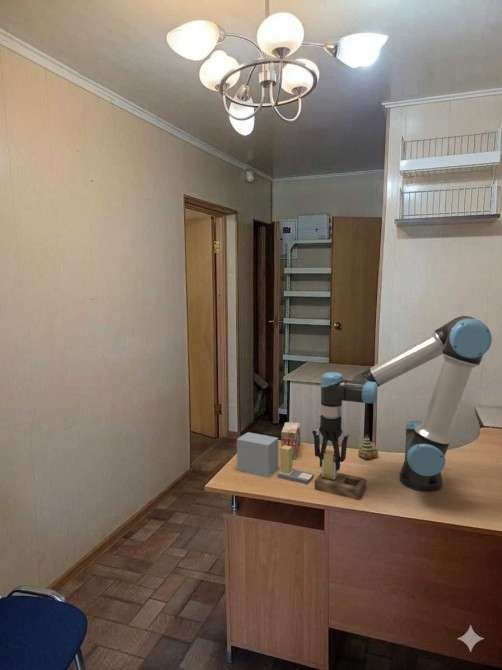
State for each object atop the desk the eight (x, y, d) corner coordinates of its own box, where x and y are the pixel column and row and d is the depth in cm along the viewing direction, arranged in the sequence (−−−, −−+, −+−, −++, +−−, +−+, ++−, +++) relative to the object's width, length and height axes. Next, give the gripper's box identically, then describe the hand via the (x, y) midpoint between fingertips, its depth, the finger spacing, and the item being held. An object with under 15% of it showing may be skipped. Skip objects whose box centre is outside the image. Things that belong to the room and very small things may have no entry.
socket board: (365, 487, 159) (365, 478, 158) (358, 499, 150) (358, 490, 150) (323, 478, 167) (324, 469, 166) (314, 489, 158) (314, 480, 157)
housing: (278, 468, 175) (278, 437, 174) (268, 477, 168) (268, 445, 166) (248, 461, 182) (247, 432, 180) (237, 470, 174) (236, 439, 173)
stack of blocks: (287, 440, 206) (287, 415, 204) (300, 441, 204) (300, 416, 203) (281, 459, 185) (281, 431, 183) (295, 460, 184) (296, 432, 182)
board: (314, 476, 168) (314, 449, 166) (307, 484, 162) (307, 455, 160) (284, 470, 174) (285, 443, 172) (277, 477, 168) (277, 449, 166)
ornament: (369, 452, 191) (370, 430, 189) (380, 457, 186) (380, 435, 184) (356, 456, 187) (356, 434, 185) (367, 461, 181) (367, 438, 180)
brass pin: (335, 477, 161) (336, 451, 159) (332, 481, 158) (333, 455, 156) (326, 475, 162) (327, 449, 161) (323, 479, 159) (323, 453, 158)
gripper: (356, 416, 156) (354, 477, 159) (313, 409, 164) (311, 467, 167) (350, 422, 149) (348, 486, 153) (305, 414, 157) (304, 475, 161)
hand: (329, 476), depth 160 cm, fingers closed on brass pin, 4 cm apart
